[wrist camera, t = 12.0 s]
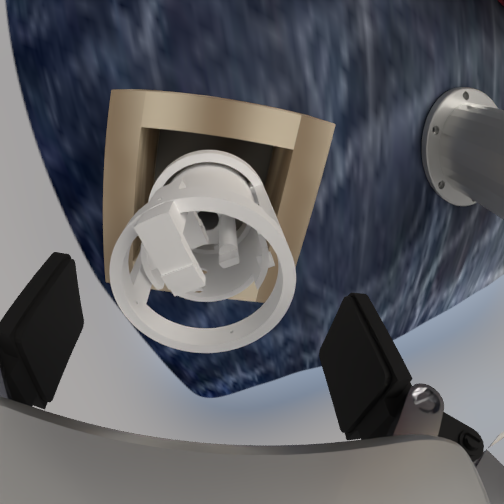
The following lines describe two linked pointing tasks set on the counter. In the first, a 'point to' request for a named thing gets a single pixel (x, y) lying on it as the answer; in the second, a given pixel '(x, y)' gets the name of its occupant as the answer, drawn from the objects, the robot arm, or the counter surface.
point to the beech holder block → (208, 138)
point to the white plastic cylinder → (203, 251)
